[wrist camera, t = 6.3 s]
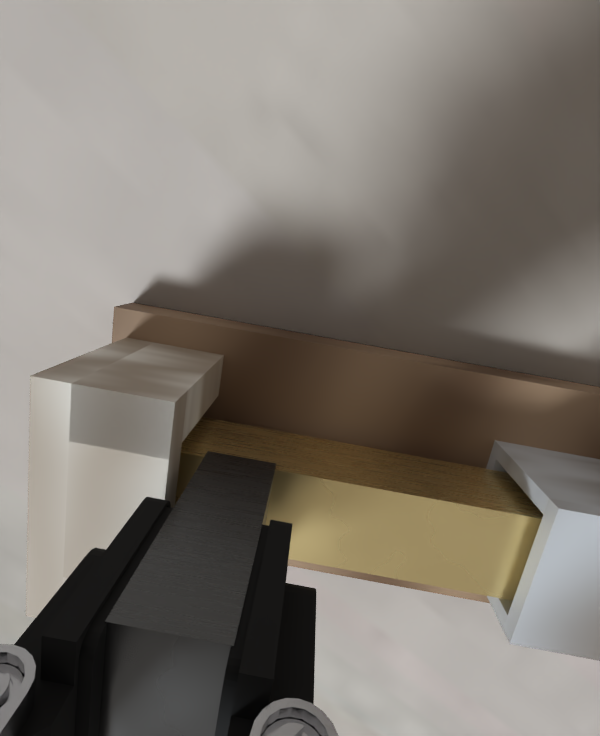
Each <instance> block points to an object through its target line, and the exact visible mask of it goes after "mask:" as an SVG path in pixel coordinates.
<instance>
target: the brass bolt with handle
mask: <svg viewBox="0 0 600 736" xmlns="http://www.w3.org/2000/svg"><path fill="white" fill-rule="evenodd" d="M542 517H543V513H542V512H541V511H540V510H539V509H538V507H537V506H536V505H535V504H534V503H533V502H532V500H531V499H530V498H529V497H528V496H527V495H526V493H525V492H524V491H523V490H522V489H521V488H520V486H519V485H518V484H517V483H516V482H515V481H514V479H513V478H512V477H511V476H510V475H509V474H508V473H506V472H501V471H495V470H490V469H484V468H479V467H473V466H468V465H462V464H457V463H451V462H446V461H440V460H435V459H429V458H424V457H419V456H413V455H408V454H402V453H397V452H391V451H386V450H380V449H375V448H369V447H364V446H358V445H353V444H347V443H342V442H337V441H331V440H326V439H320V438H315V437H309V436H304V435H298V434H293V433H287V432H282V431H276V430H271V429H266V428H260V427H255V426H249V425H244V424H238V423H233V422H227V421H222V420H216V419H211V418H205V417H201V419H200V420H199V421H198V423H197V424H196V425H195V426H194V428H193V429H192V430H191V432H190V433H189V434H188V436H187V437H186V438H185V439H184V441H183V442H182V446H181V454H180V463H179V472H178V481H177V490H176V498H175V506H174V508H173V510H172V511H171V513H170V514H169V516H168V518H167V519H166V521H165V523H164V524H163V526H162V528H161V529H160V531H159V533H158V534H157V536H156V538H155V539H154V541H153V543H152V544H151V546H150V548H149V549H148V551H147V553H146V554H145V556H144V557H143V559H142V561H141V562H140V564H139V566H138V567H137V569H136V571H135V572H134V574H133V576H132V577H131V579H130V581H129V582H128V584H127V586H126V587H125V589H124V591H123V592H122V594H121V596H120V597H119V599H118V601H117V602H116V604H115V605H114V607H113V609H112V610H111V612H110V614H109V615H108V617H107V619H106V620H105V623H107V627H106V641H105V654H104V667H103V681H102V694H101V707H100V720H99V734H98V736H215V730H216V724H217V718H218V712H219V705H220V699H221V693H222V687H223V681H224V676H225V671H226V666H227V661H228V657H229V652H230V648H231V647H234V643H235V639H236V634H237V630H238V626H239V622H240V617H241V613H242V609H243V604H244V600H245V596H246V592H247V587H248V583H249V579H250V574H251V570H252V566H253V562H254V557H255V553H256V549H257V544H258V540H259V536H260V532H261V527H262V524H263V525H268V526H269V524H270V520H276V521H281V522H287V523H292V533H291V541H290V549H289V557H288V559H291V560H297V561H302V562H307V563H313V564H318V565H324V566H329V567H334V568H340V569H345V570H351V571H356V572H361V573H367V574H372V575H377V576H383V577H388V578H394V579H399V580H404V581H410V582H415V583H420V584H426V585H431V586H437V587H442V588H447V589H453V590H458V591H464V592H469V593H474V594H480V595H485V596H490V597H496V598H501V599H507V600H512V601H513V599H514V596H515V593H516V591H517V588H518V585H519V582H520V579H521V576H522V574H523V571H524V568H525V565H526V562H527V560H528V557H529V554H530V551H531V548H532V545H533V543H534V540H535V537H536V534H537V531H538V529H539V526H540V523H541V520H542Z"/></svg>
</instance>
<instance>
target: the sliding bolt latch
mask: <svg viewBox="0 0 600 736" xmlns="http://www.w3.org/2000/svg"><path fill="white" fill-rule="evenodd" d="M201 417H205V418H211V419H216V420H222V421H227V422H233V423H238V424H244V425H249V426H255V427H260V428H266V429H271V430H276V431H282V432H287V433H293V434H298V435H304V436H309V437H315V438H320V439H326V440H331V441H337V442H342V443H347V444H353V445H358V446H364V447H369V448H375V449H380V450H386V451H391V452H397V453H402V454H408V455H413V456H419V457H424V458H429V459H435V460H440V461H446V462H451V463H457V464H462V465H468V466H473V467H479V468H484V469H490V470H495V471H501V472H506V473H508V474H509V475H510V476H511V477H512V478H513V479H514V481H515V482H516V483H517V484H518V485H519V486H520V488H521V489H522V490H523V491H524V492H525V493H526V495H527V496H528V497H529V498H530V499H531V500H532V502H533V503H534V504H535V505H536V506H537V507H538V509H539V510H540V511H541V512H542V513H543V517H542V520H541V523H540V526H539V529H538V531H537V534H536V537H535V540H534V543H533V545H532V548H531V551H530V554H529V557H528V560H527V562H526V565H525V568H524V571H523V574H522V576H521V579H520V582H519V585H518V588H517V591H516V593H515V596H514V599H513V601H512V600H507V599H501V598H496V597H490V596H485V595H480V594H474V593H469V592H464V591H458V590H453V589H447V588H442V587H437V586H431V585H426V584H420V583H415V582H410V581H404V580H399V579H394V578H388V577H383V576H377V575H372V574H367V573H361V572H356V571H351V570H345V569H340V568H334V567H329V566H324V565H318V564H313V563H307V562H302V561H297V560H291V559H288V566H293V567H298V568H304V569H309V570H314V571H320V572H325V573H331V574H336V575H341V576H347V577H352V578H357V579H363V580H368V581H374V582H379V583H384V584H390V585H395V586H400V587H406V588H411V589H417V590H422V591H427V592H433V593H438V594H443V595H449V596H454V597H460V598H465V599H470V600H476V601H481V602H487V603H490V604H491V606H492V608H493V610H494V612H495V614H496V617H497V619H498V621H499V623H500V625H501V627H502V629H503V631H504V633H505V635H506V637H507V639H508V641H509V644H513V645H518V646H524V647H529V648H534V649H540V650H545V651H550V652H556V653H561V654H566V655H572V656H577V657H583V658H588V659H593V660H599V661H600V387H597V386H591V385H586V384H580V383H575V382H569V381H564V380H558V379H552V378H547V377H541V376H536V375H530V374H525V373H519V372H514V371H508V370H503V369H497V368H492V367H486V366H481V365H475V364H469V363H464V362H458V361H453V360H447V359H442V358H436V357H431V356H425V355H420V354H414V353H409V352H403V351H397V350H392V349H386V348H381V347H375V346H370V345H364V344H359V343H353V342H348V341H342V340H337V339H331V338H325V337H320V336H314V335H309V334H303V333H298V332H292V331H287V330H281V329H276V328H270V327H265V326H259V325H254V324H248V323H242V322H237V321H231V320H226V319H220V318H215V317H209V316H204V315H198V314H193V313H187V312H182V311H176V310H170V309H165V308H159V307H154V306H148V305H143V304H137V303H129V304H125V305H120V306H116V307H114V318H113V333H112V343H111V344H109V345H106V346H104V347H101V348H99V349H96V350H94V351H91V352H89V353H86V354H84V355H81V356H79V357H76V358H74V359H71V360H69V361H66V362H64V363H61V364H59V365H56V366H54V367H51V368H49V369H46V370H44V371H41V372H39V373H36V374H34V375H31V376H30V414H29V469H28V524H27V578H26V616H29V617H34V618H36V617H37V616H38V615H39V613H40V612H41V611H42V610H43V608H44V607H45V606H46V605H47V603H48V602H49V601H50V600H51V598H52V597H53V596H54V595H55V593H56V592H57V591H58V590H59V588H60V587H61V586H62V585H63V583H64V582H65V581H66V580H67V578H68V577H69V576H70V575H71V573H72V572H73V571H74V570H75V568H76V567H77V566H78V565H79V563H80V562H81V561H82V560H83V558H84V557H85V556H86V555H87V554H88V553H89V552H90V551H91V550H92V549H94V548H100V549H107V548H108V546H109V545H110V544H111V542H112V541H113V540H114V538H115V537H116V536H117V534H118V533H119V532H120V530H121V529H122V528H123V526H124V525H125V524H126V522H127V521H128V520H129V518H130V517H131V516H132V514H133V513H134V512H135V510H136V509H137V508H138V506H139V505H140V504H141V502H142V501H143V500H144V499H145V498H146V497H152V498H157V499H163V500H168V501H170V504H171V508H174V506H175V498H176V490H177V481H178V472H179V463H180V454H181V446H182V442H183V441H184V439H185V438H186V437H187V436H188V434H189V433H190V432H191V430H192V429H193V428H194V426H195V425H196V424H197V423H198V421H199V420H200V419H201Z"/></svg>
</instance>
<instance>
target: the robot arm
mask: <svg viewBox="0 0 600 736" xmlns="http://www.w3.org/2000/svg"><path fill="white" fill-rule="evenodd" d="M172 510H173V508H171V504H170V501H168V500H163V499H157V498H152V497H146V498H145V499H144V500H143V501H142V502H141V504H140V505H139V506H138V508H137V509H136V510H135V512H134V513H133V514H132V516H131V517H130V518H129V520H128V521H127V522H126V524H125V525H124V526H123V528H122V529H121V530H120V532H119V533H118V534H117V536H116V537H115V538H114V540H113V541H112V542H111V544H110V545H109V546H108V548H107V549H100V548H94V549H92V550H91V551H90V552H89V553H88V554H87V555H86V556H85V557H84V558H83V560H82V561H81V562H80V563H79V565H78V566H77V567H76V568H75V570H74V571H73V572H72V573H71V575H70V576H69V577H68V578H67V580H66V581H65V582H64V583H63V585H62V586H61V587H60V588H59V590H58V591H57V592H56V593H55V595H54V596H53V597H52V598H51V600H50V601H49V602H48V603H47V605H46V606H45V607H44V608H43V610H42V611H41V612H40V613H39V615H38V616H37V617H36V618H35V620H34V621H33V622H32V623H31V625H30V626H29V627H28V628H27V630H26V631H25V632H24V633H23V634H22V636H21V637H20V638H19V639H18V641H17V642H16V643H15V644H14V645H13V644H0V736H98V734H99V720H100V707H101V694H102V681H103V667H104V654H105V641H106V627H107V623H105V620H106V619H107V617H108V615H109V614H110V612H111V610H112V609H113V607H114V605H115V604H116V602H117V601H118V599H119V597H120V596H121V594H122V592H123V591H124V589H125V587H126V586H127V584H128V582H129V581H130V579H131V577H132V576H133V574H134V572H135V571H136V569H137V567H138V566H139V564H140V562H141V561H142V559H143V557H144V556H145V554H146V553H147V551H148V549H149V548H150V546H151V544H152V543H153V541H154V539H155V538H156V536H157V534H158V533H159V531H160V529H161V528H162V526H163V524H164V523H165V521H166V519H167V518H168V516H169V514H170V513H171V511H172ZM291 533H292V523H287V522H281V521H276V520H270V524H269V526H268V525H263V524H262V527H261V532H260V536H259V540H258V544H257V549H256V553H255V557H254V562H253V566H252V570H251V574H250V579H249V583H248V587H247V592H246V596H245V600H244V604H243V609H242V613H241V617H240V622H239V626H238V630H237V634H236V639H235V643H234V647H231V648H230V652H229V657H228V661H227V666H226V671H225V676H224V681H223V687H222V693H221V699H220V705H219V712H218V718H217V724H216V730H215V736H338V734H337V731H336V729H335V727H334V725H333V723H332V722H331V720H330V719H329V718H328V717H327V716H326V714H325V713H324V712H323V711H322V710H320V709H319V708H318V707H316V706H315V705H314V704H313V700H314V661H315V622H316V589H315V588H309V587H304V586H299V585H293V584H288V583H285V582H286V574H287V566H288V557H289V549H290V541H291Z"/></svg>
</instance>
